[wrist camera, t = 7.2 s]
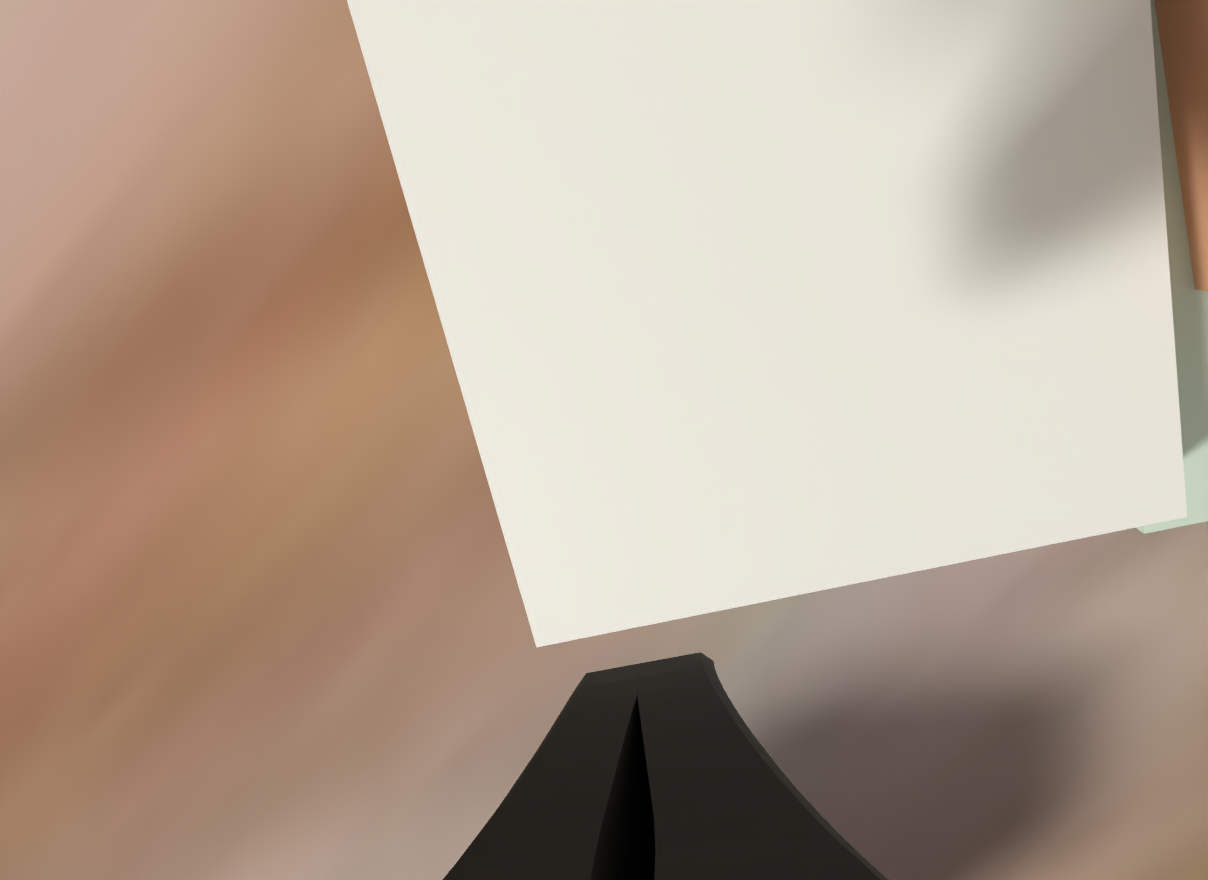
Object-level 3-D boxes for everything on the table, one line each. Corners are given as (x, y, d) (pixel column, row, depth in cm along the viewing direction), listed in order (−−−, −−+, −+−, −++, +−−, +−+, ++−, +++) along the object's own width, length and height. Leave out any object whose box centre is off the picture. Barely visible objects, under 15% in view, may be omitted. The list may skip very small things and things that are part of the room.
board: (1056, -339, 14) (1120, -417, 12) (1129, 480, 18) (1186, 517, 16) (340, -126, 16) (298, -168, 14) (546, 599, 19) (536, 647, 17)
